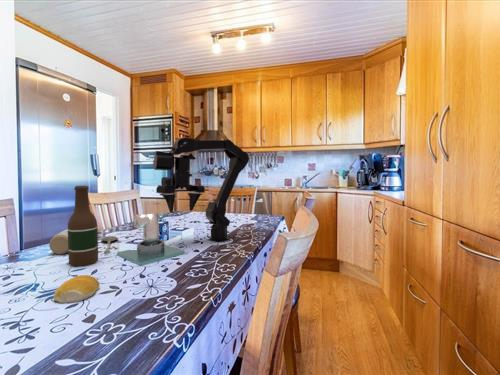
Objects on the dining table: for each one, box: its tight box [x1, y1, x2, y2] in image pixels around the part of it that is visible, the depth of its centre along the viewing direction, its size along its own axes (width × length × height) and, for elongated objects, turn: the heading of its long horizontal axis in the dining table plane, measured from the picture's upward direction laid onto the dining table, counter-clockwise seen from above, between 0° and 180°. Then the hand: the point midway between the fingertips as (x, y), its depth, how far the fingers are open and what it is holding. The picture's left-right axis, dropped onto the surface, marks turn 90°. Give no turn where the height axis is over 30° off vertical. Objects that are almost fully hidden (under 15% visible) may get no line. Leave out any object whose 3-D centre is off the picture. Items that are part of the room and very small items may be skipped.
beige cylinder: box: [48, 228, 68, 255], centre depth 94 cm, size 11×8×8 cm
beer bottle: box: [67, 185, 99, 268], centre depth 82 cm, size 8×8×24 cm
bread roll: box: [53, 274, 100, 304], centre depth 61 cm, size 8×9×4 cm
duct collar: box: [116, 239, 186, 266], centre depth 91 cm, size 16×16×4 cm
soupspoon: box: [100, 235, 119, 255], centre depth 102 cm, size 22×3×7 cm
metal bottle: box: [132, 212, 160, 246], centre depth 90 cm, size 8×5×13 cm, turn 133°
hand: (181, 211), depth 102 cm, fingers open, 9 cm apart
